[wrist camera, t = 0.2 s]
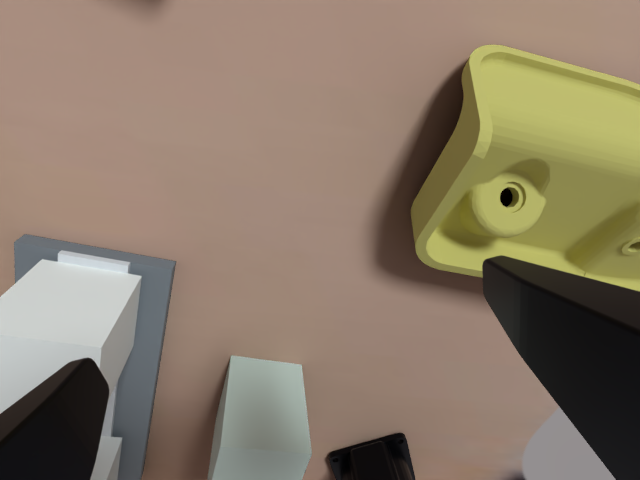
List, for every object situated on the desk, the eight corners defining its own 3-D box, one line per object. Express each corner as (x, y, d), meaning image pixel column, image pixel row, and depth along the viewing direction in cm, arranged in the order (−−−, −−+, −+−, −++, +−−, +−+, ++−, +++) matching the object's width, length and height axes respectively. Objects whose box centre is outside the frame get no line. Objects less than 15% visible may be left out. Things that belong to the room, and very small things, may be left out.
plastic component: (401, 262, 23) (499, 114, 15) (392, 178, 27) (463, 34, 20) (688, 315, 25) (890, 212, 18) (635, 231, 30) (777, 121, 23)
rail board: (143, 472, 30) (108, 588, 24) (27, 465, 29) (-45, 589, 22) (175, 261, 23) (140, 343, 17) (24, 234, 21) (-84, 314, 15)
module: (281, 423, 30) (285, 520, 24) (216, 417, 29) (202, 517, 23) (301, 364, 28) (311, 454, 22) (231, 355, 27) (220, 446, 21)
